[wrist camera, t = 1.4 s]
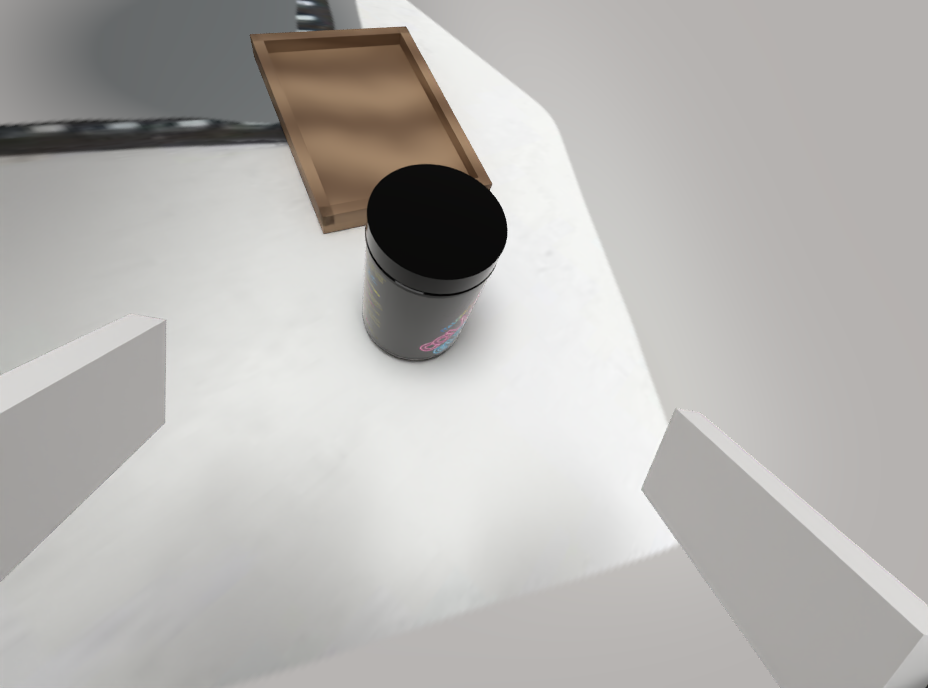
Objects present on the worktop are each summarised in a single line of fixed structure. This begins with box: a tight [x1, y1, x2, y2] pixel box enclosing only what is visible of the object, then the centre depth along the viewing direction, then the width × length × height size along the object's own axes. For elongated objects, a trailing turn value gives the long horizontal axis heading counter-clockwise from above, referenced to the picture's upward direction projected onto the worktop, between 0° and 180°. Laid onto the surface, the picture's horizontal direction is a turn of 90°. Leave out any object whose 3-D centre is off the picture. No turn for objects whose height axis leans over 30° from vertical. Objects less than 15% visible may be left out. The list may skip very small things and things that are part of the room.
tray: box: [250, 27, 492, 234], centre depth 36 cm, size 18×13×2 cm
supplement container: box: [363, 164, 507, 360], centre depth 26 cm, size 7×7×10 cm
